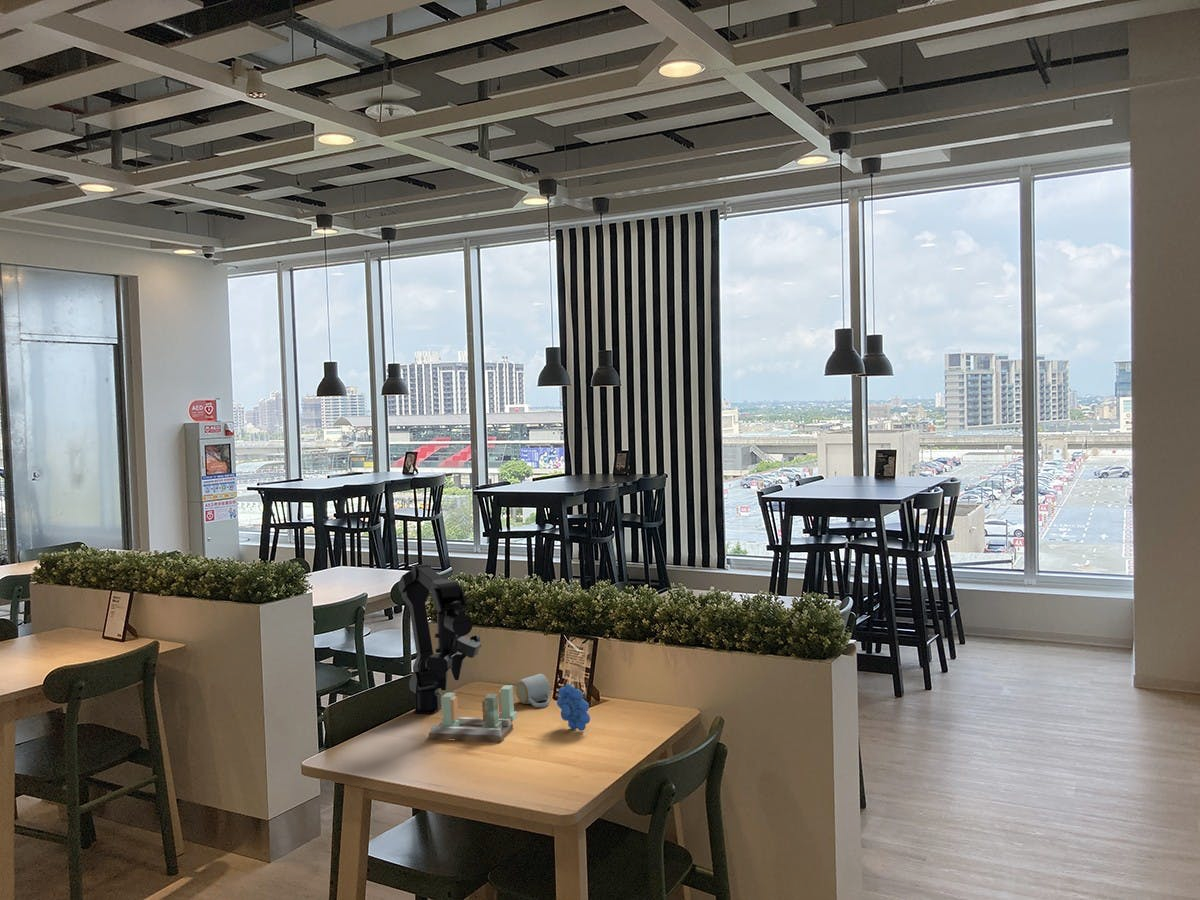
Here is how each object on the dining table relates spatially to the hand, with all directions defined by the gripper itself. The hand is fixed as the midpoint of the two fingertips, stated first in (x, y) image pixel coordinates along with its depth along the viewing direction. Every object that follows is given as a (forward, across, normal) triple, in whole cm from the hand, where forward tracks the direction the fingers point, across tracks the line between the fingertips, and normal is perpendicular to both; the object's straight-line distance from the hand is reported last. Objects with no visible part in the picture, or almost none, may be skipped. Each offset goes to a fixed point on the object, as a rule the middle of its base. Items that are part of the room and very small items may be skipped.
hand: (450, 685), depth 263 cm
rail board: (+12, -5, -7) cm, 14 cm away
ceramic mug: (+12, +24, -17) cm, 31 cm away
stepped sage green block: (+10, -5, -1) cm, 11 cm away
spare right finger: (+12, +8, -13) cm, 19 cm away
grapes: (+12, +2, -33) cm, 35 cm away
